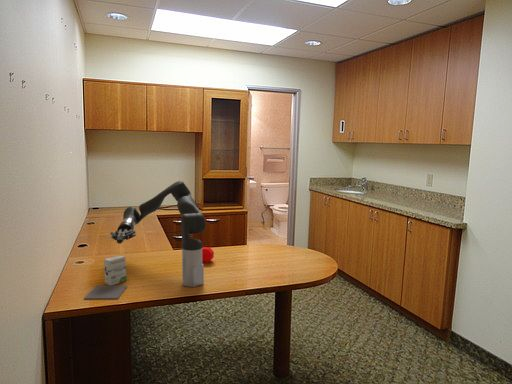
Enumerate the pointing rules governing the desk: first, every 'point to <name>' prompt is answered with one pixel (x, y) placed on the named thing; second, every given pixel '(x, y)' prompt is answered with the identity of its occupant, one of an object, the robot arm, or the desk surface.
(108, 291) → the charcoal mat
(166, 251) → the desk surface
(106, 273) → the ink box
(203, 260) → the ball
